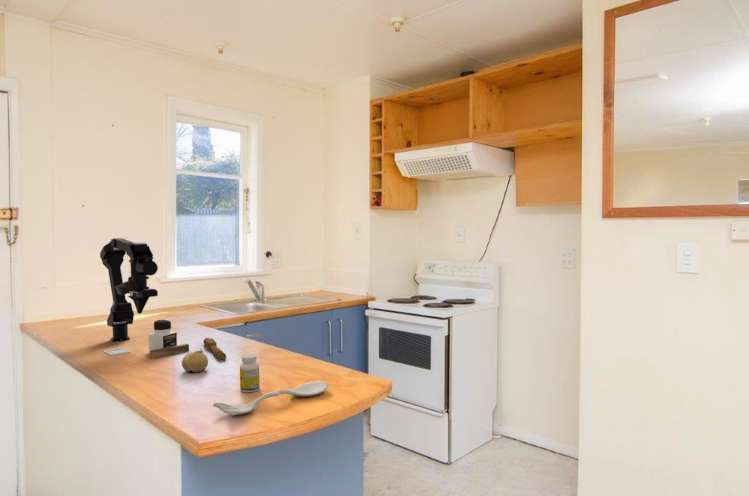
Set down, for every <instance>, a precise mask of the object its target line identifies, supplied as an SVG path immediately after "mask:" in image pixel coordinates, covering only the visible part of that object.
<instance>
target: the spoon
mask: <svg viewBox="0 0 749 496" xmlns="http://www.w3.org/2000/svg"><path fill="white" fill-rule="evenodd" d="M329 386H330V385H329V384H328V382H326V381H323V380H315V381H310V382H307V383H303V384H301V385H298V386H295V387H292V388H290V389H281V390H273V391H271V392H268V393H265V394H263V395H261V396H258V397H257V398H255V400H253V401H251V402H248V403H243V404H241V403H223V402H214V403H213V404H212V406H213V407H214V408H215V407H216V409H218V410H220V411H222V412H223V413H226V414H228V415H230V416H239V415H244V414H248V413H250V412H251V411H253V410H254V409H255V408H256V406H257V405H258V404H259V403H261V402H262V401H264V400H266V399H269V398H273V397H278V396H279V397H280V395H291V396H297V397H312V396H316V395H320V394H321V393H323V392H325V391H326V390H328V388H329Z"/></svg>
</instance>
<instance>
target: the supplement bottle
mask: <svg viewBox="0 0 749 496" xmlns="http://www.w3.org/2000/svg"><path fill="white" fill-rule="evenodd" d="M241 361H242V363H241V364H239V386H240V391H241V392H242V393H248V394H249V393H255V392H257V391H259V390H260V388H261V386H260V385H261V384H260V383H261V382H260V381H261V380H260V364H259V362H257V355H256V354H244V355H243V356H242V357H241Z"/></svg>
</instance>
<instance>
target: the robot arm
mask: <svg viewBox="0 0 749 496" xmlns="http://www.w3.org/2000/svg"><path fill="white" fill-rule="evenodd" d="M125 255H127V256H128V257H129V258H130V259H129V260H128V262H129V263H130V276H128V278H127V281H124V280H123V274H122V269H121V267H122V266H123V265H122V264H123V263H124V257H125ZM99 256H100V259H101V262H102V265H103V266H104V267H105V268H106V270H108V278H109V284H110V290H111V297H112V302H113V303H112V305H111V307H110V309H109V315H108V317H107V319H106V324H107V326H108V327H112V337H111V338H110V339H111V341H112V342H117V341H118V342H120V341H127V340H131V337H130V336H129V325H133V323H134V319H135V318H134V316H135V313H134V310H133V307H132V306H133V304H132V302H133V303H134V306H135V309H136V313H137V314H143V310H144V309H145V306H146V305H147V303H148V301H149V298H152V297H153V298H154V297H158V295H159V294H158V292H159V291H158V290H157V289H155V288H150V286H148V283H147V282H148V280H149V279H150V277H149V276H153V275H155V274H156V273H157V272H158V268H159V267H158V264H157V262H155V261H154V254H153V252H152V250H151V248H150V246H149V245H148V243H147V242H146V241H145V242H134V241H131V240H127V239H126V238H121V237H118V238H115V237H114V238H111V239H110V242H108V243H107V244H105V245H103V247H102V249H101V251H100V252H99ZM127 294H129V295H128V296H127V297H128V298H130V299H131V300H132V302H130V301H129V302H128V301H127V299H126V295H127Z"/></svg>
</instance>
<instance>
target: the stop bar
mask: <svg viewBox="0 0 749 496" xmlns="http://www.w3.org/2000/svg"><path fill="white" fill-rule="evenodd" d="M185 352H190V344H188V343H182V344H177V345H176V346H171V347H166V348H161V349H156V350H151V351H150V353H149V356H150V358H151V359H157V358H161V357H166V356H171V355H175V354H180V353H185Z"/></svg>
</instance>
